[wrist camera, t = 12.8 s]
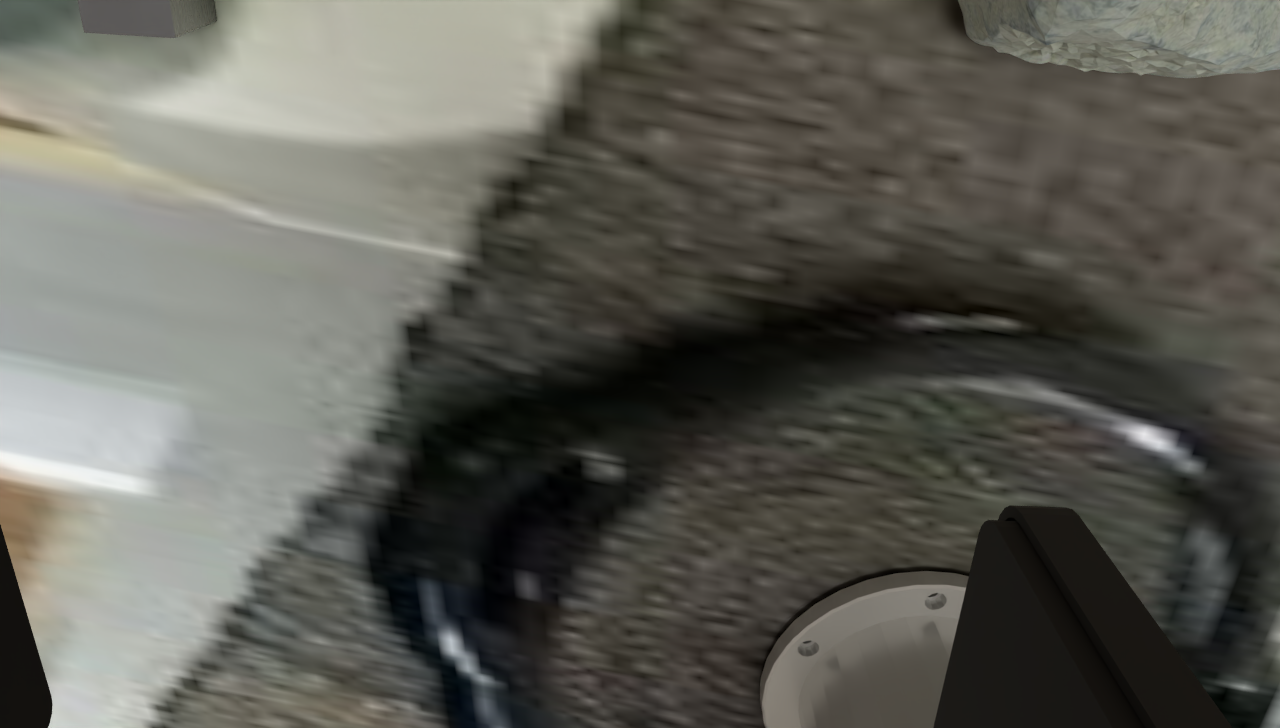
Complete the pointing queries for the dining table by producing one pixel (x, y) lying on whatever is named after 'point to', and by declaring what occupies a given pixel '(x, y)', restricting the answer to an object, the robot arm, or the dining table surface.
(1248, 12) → the decorative stone
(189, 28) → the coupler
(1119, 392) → the dining table surface
